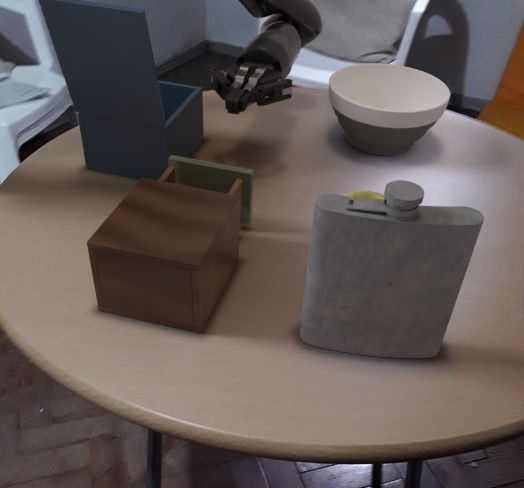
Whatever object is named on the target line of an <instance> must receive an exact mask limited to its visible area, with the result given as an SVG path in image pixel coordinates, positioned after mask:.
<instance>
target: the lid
mask: <svg viewBox="0 0 524 488" xmlns="http://www.w3.org/2000/svg"><path fill="white" fill-rule="evenodd" d="M38 3H39V6H40V10H41V12H42V15H43V19H44V21H45V25H46V27H47V29H48V33H49V36H50V39H51V42H52V45H53V48H54V52H55V54H56V57H57V61H58V64H59V66H60V69H61V72H62V75H63V78H64V81H65V83H66V84H65V85H66V88H67V90H68V94H69V97H70V99H71V101H72V106H73V108H74V112H75V113H78V112H80V113H86V114H91V115H97V116H103V117H109V118H114V119H120V120H126V121H132V122H138V123H143V124H149V125H155V126H161V127H165V125H166V120H165V115H164V110H163V104H162V99H161V94H160V88H159V83H158V80H159V79H158V72H157V68H156V62H155V57H154V51H153V47H152V42H151V36H150V31H149V26H148V21H147V15H146V10H145V8H139V7H133V6H125V5H120V4H119V5H118V4H111V3H104V2H97V1H89V0H38Z"/></svg>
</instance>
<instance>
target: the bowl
mask: <svg viewBox="0 0 524 488" xmlns="http://www.w3.org/2000/svg"><path fill="white" fill-rule="evenodd" d="M328 98H329V99H328V100H329V102H330V104H331V107H332V110H333V112H334V114H335V116H336V117H337V122H338V124H339V126H340V128H341V129H342V131H343V132H344V133H345V136H346V139H347V141H348V144H350V145H351V146H353V147H354V148H356V149H357V150H359V151H361V152H363V153H366V154H369V155H370V154H371V155H375V156H397V155H400V154H403V153H405V152H408V151H409V150H410V149H411V148H412V147H413V145H414V144H415V143H416V142H418V141H419V140H420V139H421V138H422V137H423V138H424V136H425V135H426V133H427V132H428V131H429V130H430V129H431V128H433V126H434V125H436V123H437V122H438V121H439V119H441V118H442V116H443V115H444V113H445V111H446V109H447V107H448V105H449V101H450V98H451V91H450V89H449V87H448V86H447V84H445V83H444V82H443V81H442V80H441V79H439V78H437V77H436V76H434V75H432V74H431V73H428V72H425V71H423V70H420V69H416V68H414V67H413V68H412V67H408V66H405V65H398V64H390V63H380V62H379V63H374V62H373V63H369V62H368V63H358V64H353V65H348V66H345V67H342V68H339V69H337V70H335V71H334V73H332V74H331V75H330V77H329V79H328Z"/></svg>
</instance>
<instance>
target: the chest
mask: <svg viewBox="0 0 524 488" xmlns="http://www.w3.org/2000/svg"><path fill="white" fill-rule="evenodd" d="M158 83H159V88H160V94H161V99H162V104H163V110H164V115H165V120H166V125H165V127H161V126H155V125H149V124H143V123H138V122H132V121H126V120H120V119H114V118H109V117H103V116H97V115H91V114H86V113H80V112H76V113H77V120H78V125H79V131H80V137H81V138H80V139H81V145H82V150H83V157H84V162H85V163H84V164H85V169H86V170H90V171H96V172H101V173H107V174H112V175H116V176H122V177H126V178H127V177H128V178H132V179H137V180H140V179H141V178H148V179H153V180H158V179H159V178H160V177H161V176H162V174H163V173H164V172H165V171H166V170H167V168H168V167H169V165H168V158H169V157H170V156H171V155H174V156H180V157H185V158H191V157H192V156H193V154H194V153H195V152H196V151H197V149H198V148H199V147H200V145H201V144H202V143H203V141H204V96H203V95H204V93H203V91H204V87H203V86H197V85H196V86H195V85H189V84H183V83H177V82H172V81H165V80H159V79H158Z"/></svg>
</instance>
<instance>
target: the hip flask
mask: <svg viewBox="0 0 524 488" xmlns="http://www.w3.org/2000/svg"><path fill="white" fill-rule="evenodd" d="M383 195H384V198H385V199H384V200H382V199H371V198H359V197H348V196H344V195H343V194H337V193H329V192H328V193H322V194H320V195H318V196H317V197H316V198H315V202H314V208H313V209H314V210H313V217H312V225H311V233H310V241H309V249H308V250H309V251H308V258H307V268H306V269H307V270H306V276H305V283H304V285H305V286H304V292H303V300H302V310H301V319H300V324H299V325H300V326H299V327H300V328H299V333H298V335H299V336H298V337H299V339H300V340H301V341H302V342H303V343H304V344H306V345H309V346H313V347H317V348H321V349H325V350H329V351H335V352H340V353H341V352H342V353H345V354H346V353H347V354H352V355H360V356H368V357H377V358H378V357H379V358H389V359H390V358H391V359H392V358H395V359H431V358H435V357H437V356H438V355H439V353H440V350H441V347H442V344H443V342H444V338H445V335H446V332H447V329H448V327H449V323H450V320H451V318H452V315H453V312H454V309H455V306H456V303H457V300H458V297H459V294H460V291H461V288H462V285H463V282H464V280H465V277H466V274H467V270H468V267H469V265H470V262H471V260H472V256H473V253H474V250H475V248H476V244H477V241H478V238H479V235H480V232H481V230H482V228H483V227H482V226H483V224H484V222H485V216H484V214H483V213H482V212H481V211H479V210H478V209H476V208H474V207H471V206H461V205H458V206H457V205H456V206H454V205H452V206H446V205H443V206H442V205H441V206H440V205H421V204H423V202H424V201H423V200H424V196H425V189H424V188H423V187H422V186H421V185H419V184H417V183H415V182H413V181H408V180H404V179H398V180H391V181H389V182H388V183H386V184H385V186H384V190H383Z"/></svg>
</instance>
